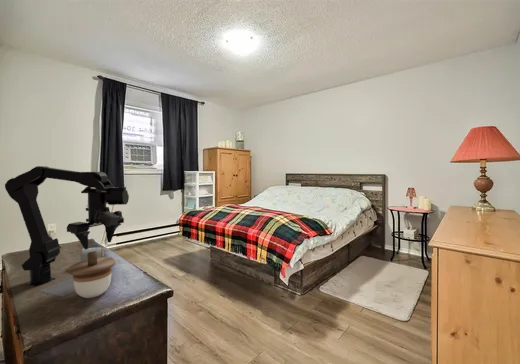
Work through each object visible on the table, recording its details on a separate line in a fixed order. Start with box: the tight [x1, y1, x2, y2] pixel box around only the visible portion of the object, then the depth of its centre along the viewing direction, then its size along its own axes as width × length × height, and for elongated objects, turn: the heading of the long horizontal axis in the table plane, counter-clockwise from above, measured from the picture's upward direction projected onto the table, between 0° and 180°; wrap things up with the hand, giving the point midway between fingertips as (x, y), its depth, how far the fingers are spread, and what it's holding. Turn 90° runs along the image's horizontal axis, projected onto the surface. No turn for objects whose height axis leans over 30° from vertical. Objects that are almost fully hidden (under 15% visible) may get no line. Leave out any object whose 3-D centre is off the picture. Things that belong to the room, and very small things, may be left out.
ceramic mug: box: [80, 246, 105, 262], centre depth 109 cm, size 11×8×8 cm
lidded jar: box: [72, 267, 113, 299], centre depth 81 cm, size 11×11×9 cm
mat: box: [39, 277, 76, 298], centre depth 86 cm, size 12×12×1 cm
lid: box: [67, 251, 116, 276], centre depth 81 cm, size 13×13×5 cm
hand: (98, 245), depth 92 cm, fingers open, 9 cm apart
